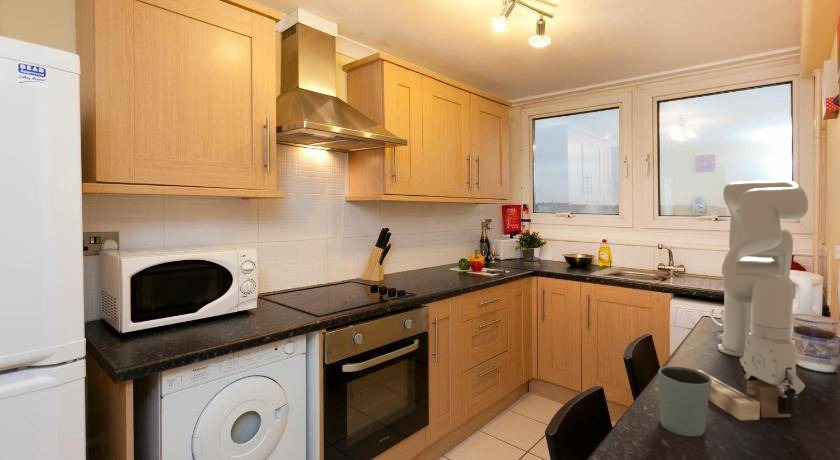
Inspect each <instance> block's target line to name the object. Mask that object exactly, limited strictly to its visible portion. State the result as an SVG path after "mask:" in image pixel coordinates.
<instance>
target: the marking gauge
mask: <svg viewBox="0 0 840 460" xmlns="http://www.w3.org/2000/svg"><path fill="white" fill-rule="evenodd" d="M746 381H747V380H746ZM745 387H746V386H745ZM783 387H784V389H785V391H787V390H788V389H787V387H786V386H783ZM746 393H747V396H749V397H750V398H752V399H754V400H756V401H758V402H760V413H759V418H761V419H766V418H767V419H768V418H769V419H770V418H791V417H792V416H791V415H792V414H779V413H778V411H777V410H778V396H781V395H780V393H779V390H778V388H777V386H775V385H771V384H768V383H766V382H764V381H762V380H760V379H758V380H754V381H747V387H746V388H745V394H746Z"/></svg>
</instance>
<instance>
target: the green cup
mask: <svg viewBox="0 0 840 460" xmlns="http://www.w3.org/2000/svg"><path fill="white" fill-rule="evenodd" d="M697 370H698V369H694V368H693V369H692V368H689V367H684V366H677V365H675V366H674V365H671V366H668V365H667V366H662V367H660V368H659V369H658V384H659V387H658V388H659V389H658V393H659V405H660V406H659V421H660V425H661V426H662V427H663V428H664V429H665V430H667V431H669V432H671V433H674V434H677V435H681V436H684V437H700V436H703V435H704V434H705V432H706V425H707V416H708V409H709V400H708V399H709V394H710V389H711V383H712V380H711V378H710V377H709V376H708V375H709V374H708V375H706V374H704V373H702V372H700V371H697Z"/></svg>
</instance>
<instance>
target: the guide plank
mask: <svg viewBox="0 0 840 460" xmlns="http://www.w3.org/2000/svg"><path fill="white" fill-rule="evenodd" d="M696 370H697V371H700V372H702V373H704V374H706V375H708V376H709V377H710V378H711V380H712V383H711V389H710V394H709V399H708V402H711V404H714V405H715V406H717V407H718V408H720V409H722V410H723V411H725V412H727V413H728V414H730V415H732V416H733V417H734V418H736V419H738V420H739V421H757V420H759V421H760V417H759V413H760V402H758V401H756V400H754V399H752V398H750V397H749V396H747V395H746V393H743V392H741V391H739V390H737V389H736V388H734V387H732V386H730V385H728V384H727V383H724V381H721V380H719V379H717V378H715V377H714V376H712V375H710V374H709V373H707V372H704V371H703V370H700V369H696Z"/></svg>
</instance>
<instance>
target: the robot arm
mask: <svg viewBox="0 0 840 460" xmlns="http://www.w3.org/2000/svg"><path fill="white" fill-rule="evenodd" d="M722 193H723V200H724V202H725V205H726V206H727V209H728V211H729V214H730V222H729V223H730V224H729V239H728V241H729V242H728V245H729V246H728V247H729V250H728V252H727V253H726V255H725V257H724V260H723V263H722V265H721V275H722V280H723V290H724V292H723V294H724V299H723V301H724V303H723V304H724V305H723V332H722V333H721V334H718V335H717V339H719V340H721V343H718V345H717V350H719V352H722V354H723V353H724V354H727V355H730V356H734V357H739V363H740V365H741V368H742V369H741V371H742V372H743V373H744V375H743V376H744V379H745V380H746V383H745V387H747V381H754V380H762V381H764V382H766V383H768V384H771V385H775V386H777V388H778V390H779V393H780V395H781V396H778V410H777V411H778V413H779V414H791V415H792V414H794V402H795V401H794V400H795V399H794V398H797V397H798V396H799V395H800V394H801V393H802V391H803V390H804V389H805V388H806V384H805V382H803V381H802V380H801V379H800V378H799V376H798V375H797V369H796V368H797V366H796V363H797V362H796V354H795V348H794V347H795V346H794V343H793V342H792V340H793V339H792V337H793V306H794V301H793V300H795V299H796V295H797V289H796V283H795V282H793V281H792V279H791V278H790V274H791V268H792V259H793V252H794V251H793V250H794V239H793V236H792V233H791V232H790V230H788V229H786V228H783V227H782V225H781V220H795V219H796V220H799V219H802V218H804V217H805V216H806V214H807V212H808V208H809V200H808V196H807V193H806V192H805V190H804V188H803V187H801V186H800V185H799V184H798V183H797V182H796V181H793V180H751V181H749V180H748V181H734V182H731V183H727V184H726V185H725V186H724V187H723V192H722ZM783 386H786V387H787V389H788V390H787V391H785V389H784V387H783ZM745 395H747V393H746V392H745Z"/></svg>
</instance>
